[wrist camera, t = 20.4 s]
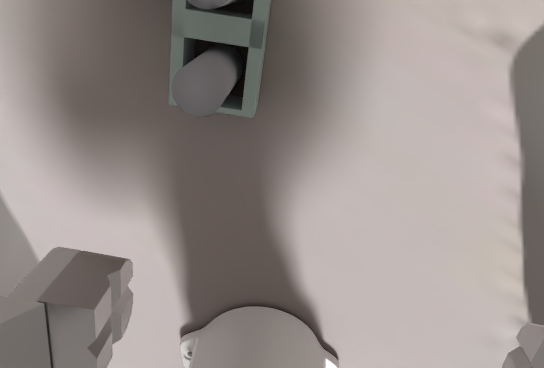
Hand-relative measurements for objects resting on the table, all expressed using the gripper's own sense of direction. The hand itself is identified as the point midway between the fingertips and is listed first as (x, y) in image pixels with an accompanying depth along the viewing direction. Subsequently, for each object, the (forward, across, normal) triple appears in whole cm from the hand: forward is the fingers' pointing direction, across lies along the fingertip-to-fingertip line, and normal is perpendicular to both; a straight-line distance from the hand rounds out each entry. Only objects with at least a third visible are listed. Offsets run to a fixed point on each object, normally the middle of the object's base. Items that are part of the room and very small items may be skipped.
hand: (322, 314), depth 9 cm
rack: (+31, +7, -2) cm, 32 cm away
